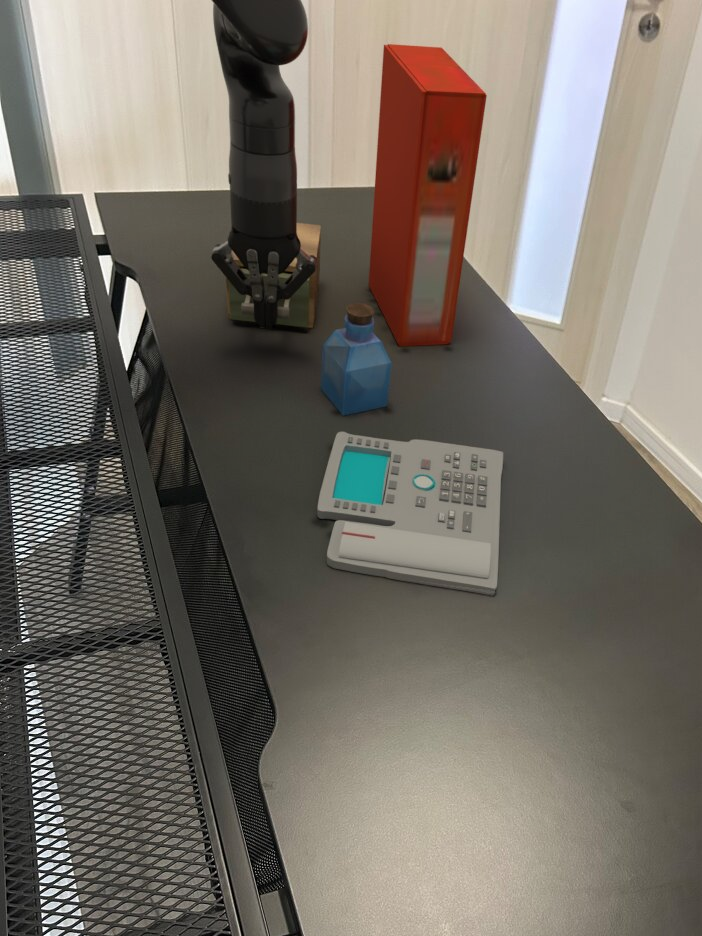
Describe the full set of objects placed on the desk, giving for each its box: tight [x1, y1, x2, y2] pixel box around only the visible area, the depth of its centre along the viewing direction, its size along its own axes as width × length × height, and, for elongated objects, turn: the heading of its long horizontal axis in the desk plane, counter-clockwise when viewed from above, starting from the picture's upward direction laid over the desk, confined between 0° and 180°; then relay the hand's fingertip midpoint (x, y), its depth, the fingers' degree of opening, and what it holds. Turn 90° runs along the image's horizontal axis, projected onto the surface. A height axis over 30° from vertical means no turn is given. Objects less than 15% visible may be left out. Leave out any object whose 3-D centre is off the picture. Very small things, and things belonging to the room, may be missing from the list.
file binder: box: [368, 43, 488, 347], centre depth 113 cm, size 8×17×32 cm, turn 18°
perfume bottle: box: [320, 302, 392, 417], centre depth 104 cm, size 6×6×12 cm
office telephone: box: [316, 431, 504, 596], centre depth 94 cm, size 23×3×20 cm
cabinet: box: [225, 222, 322, 329], centre depth 119 cm, size 14×12×9 cm
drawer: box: [229, 266, 310, 328], centre depth 116 cm, size 18×10×7 cm, turn 3°
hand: (265, 325), depth 109 cm, fingers closed
